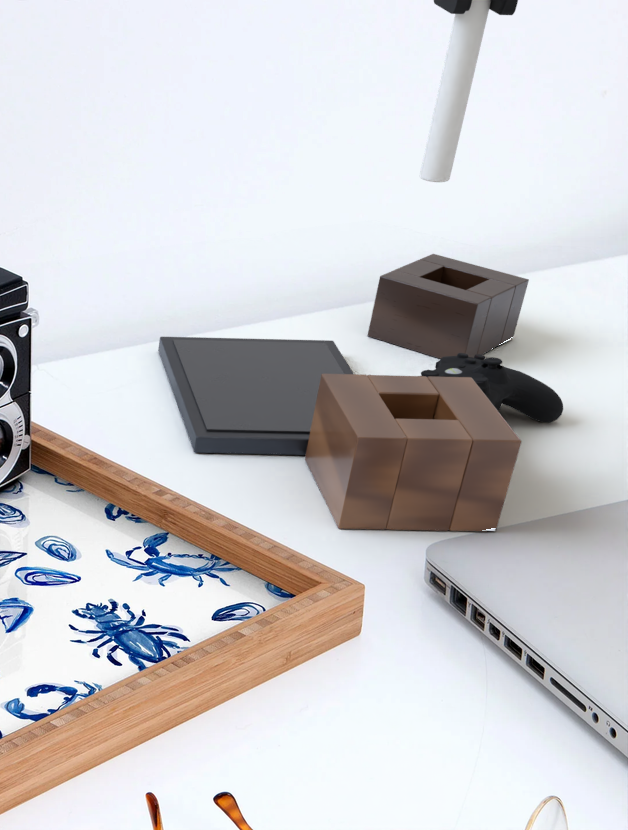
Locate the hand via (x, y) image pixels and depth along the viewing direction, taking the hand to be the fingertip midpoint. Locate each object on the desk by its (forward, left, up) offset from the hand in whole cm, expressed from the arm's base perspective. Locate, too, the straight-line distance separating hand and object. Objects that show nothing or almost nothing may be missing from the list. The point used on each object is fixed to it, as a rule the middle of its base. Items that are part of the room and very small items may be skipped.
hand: (472, 6), depth 66 cm
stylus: (0, 0, -8) cm, 8 cm away
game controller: (-7, -6, -23) cm, 25 cm away
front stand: (-1, +3, -23) cm, 23 cm away
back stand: (-10, -20, -23) cm, 32 cm away
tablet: (+4, -9, -23) cm, 25 cm away
